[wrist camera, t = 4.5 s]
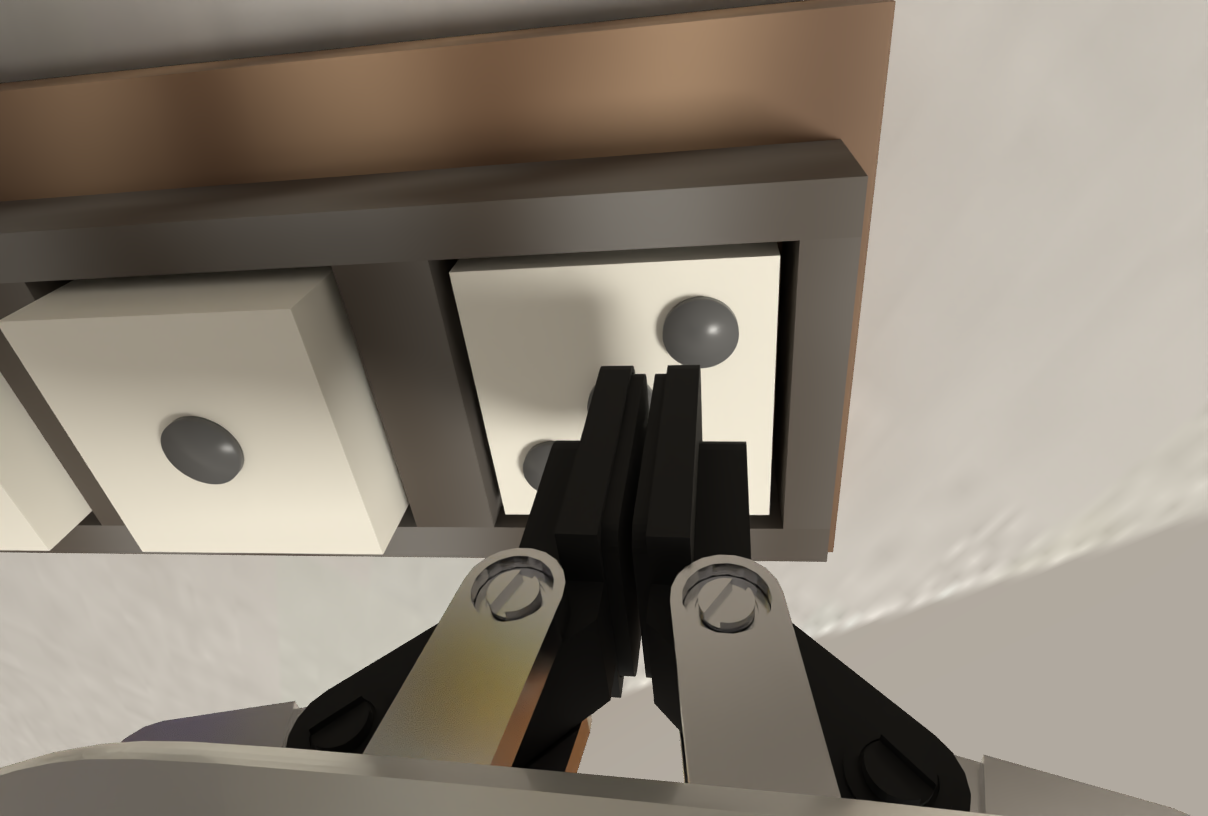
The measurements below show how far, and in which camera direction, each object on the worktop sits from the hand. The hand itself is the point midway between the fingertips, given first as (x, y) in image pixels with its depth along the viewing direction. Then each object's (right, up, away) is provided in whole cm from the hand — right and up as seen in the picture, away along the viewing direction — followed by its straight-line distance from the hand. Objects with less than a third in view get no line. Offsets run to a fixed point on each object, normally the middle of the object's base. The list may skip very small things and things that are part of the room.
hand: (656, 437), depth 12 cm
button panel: (-8, +3, +7) cm, 11 cm away
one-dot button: (-9, +1, +4) cm, 10 cm away
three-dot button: (0, +2, +4) cm, 4 cm away
